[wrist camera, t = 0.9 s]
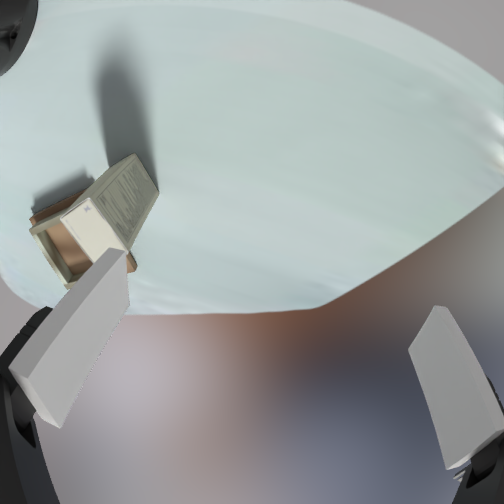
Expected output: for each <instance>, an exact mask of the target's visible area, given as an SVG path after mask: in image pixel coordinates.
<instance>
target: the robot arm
mask: <svg viewBox="0 0 504 504" xmlns="http://www.w3.org/2000/svg"><path fill="white" fill-rule="evenodd" d="M36 14H37V0H0V76H2V75H3V74H4V73H6V72H7V71H8V70H9V69H10V68H11V67H12V66H13V65H14V64H15V62H16V61H17V60H18V58H19V57H20V55H21V54H22V52H23V50H24V49H25V47H26V45H27V43H28V40H29V38H30V36H31V33H32V30H33V27H34V24H35V20H36ZM129 306H130V301H129V290H128V278H127V265H126V251H124V250H120V249H115V248H110V247H109V248H108V249H107V250H106V251H105V252H104V253H103V254H102V255H101V256H100V257H99V258H98V260H97V261H96V262H95V263H94V264H93V265H92V266H91V267H90V268H89V269H88V270H87V271H86V272H85V273H84V275H83V276H82V277H81V278H80V279H79V280H78V281H77V282H76V283H75V284H74V286H73V287H72V288H71V289H70V290H69V291H68V292H67V294H66V295H65V296H64V297H63V298H62V299H61V300H60V302H59V303H58V304H57V305H56V306H55V308H54V309H53V308H50V307H47V306H46V307H44V308H42V309H41V310H39V311H38V312H36V313H35V314H34V315H33V316H32V317H31V318H30V319H29V321H28V322H27V323H26V326H24V327H23V328H22V329H21V330H20V333H19V334H17V335H16V336H15V338H14V339H13V340H12V342H11V343H10V344H9V345H8V347H7V348H6V349H5V351H4V352H3V353H2V355H1V356H0V504H60V502H59V500H58V497H57V495H56V492H55V490H54V487H53V484H52V481H51V478H50V475H49V472H48V469H47V466H46V463H45V459H44V456H43V452H42V449H41V445H40V441H39V437H38V433H37V429H36V424H35V421H34V419H33V415H34V413H35V412H36V411H37V413H38V414H39V415H40V417H41V418H42V419H43V420H45V421H47V422H48V423H50V424H53V425H54V426H57V427H58V428H61V427H62V425H63V423H64V421H65V419H66V417H67V415H68V413H69V411H70V409H71V407H72V405H73V403H74V401H75V399H76V397H77V396H78V394H79V392H80V390H81V388H82V386H83V384H84V383H85V381H86V379H87V377H88V375H89V373H90V372H91V370H92V368H93V366H94V364H95V363H96V361H97V359H98V357H99V356H100V354H101V352H102V350H103V349H104V347H105V345H106V344H107V342H108V340H109V338H110V337H111V335H112V333H113V332H114V330H115V328H116V327H117V325H118V323H119V321H120V320H121V318H122V317H123V315H124V314H125V312H126V310H127V309H128V307H129ZM408 351H409V354H410V356H411V359H412V362H413V364H414V367H415V369H416V372H417V375H418V378H419V380H420V383H421V386H422V389H423V392H424V395H425V398H426V401H427V404H428V407H429V410H430V413H431V417H432V420H433V423H434V426H435V430H436V433H437V437H438V440H439V444H440V447H441V451H442V455H443V459H444V463H445V467H446V470H447V469H451V468H455V467H458V466H461V465H462V464H463V463H465V462H466V461H468V460H469V459H471V464H469V465H468V466H467V467H465V468H464V469H462V470H461V471H459V472H458V473H457V474H455V476H454V479H456V478H457V477H459V476H460V475H462V474H463V473H464V475H463V476H462V477H460V478H459V479H458V481H460V482H461V483H460V486H459V488H458V491H457V493H456V495H455V498H454V500H453V502H452V504H504V409H503V406H502V404H501V402H500V401H499V397H498V395H497V393H495V389H494V387H493V384H492V382H491V381H490V379H489V378H488V377H487V376H486V375H485V374H484V372H483V370H482V368H481V366H480V364H479V363H478V361H477V359H476V357H475V355H474V353H473V351H472V349H471V348H470V346H469V344H468V342H467V340H466V339H465V337H464V335H463V333H462V332H461V330H460V329H459V327H458V325H457V323H456V322H455V320H454V318H453V317H452V315H451V313H450V312H449V310H448V309H447V307H441V306H434V308H433V310H432V311H431V313H430V315H429V317H428V318H427V320H426V322H425V323H424V325H423V327H422V328H421V330H420V332H419V333H418V335H417V336H416V338H415V340H414V341H413V343H412V344H411V346H410V348H409V349H408Z"/></svg>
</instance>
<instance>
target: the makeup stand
mask: <svg viewBox="0 0 504 504" xmlns="http://www.w3.org/2000/svg"><path fill="white" fill-rule="evenodd" d="M87 189H88V188H87ZM87 189H85V190H83V191H81V192H79V193H77V194H74V195H72V196H70V197H68V198H66V199H64V200H62V201H60V202H58V203H56V204H54V205H52V206H50V207H48V208H46V209H44V210H42V211H40V212H38V213H36V214H34V215H33V216H32V217H31V218H30V219H29V220H30V221H31V223H32V225H33V226H32V227H31V228H30V230H29V231H30V233H31V234H32V236H33V238H34V240H35V241H36V243H37V245H38V246H39V248H40V250H41V251H42V253H43V254H44V256H45V258H46V259H47V261H48V262H49V264H50V265H51V267H52V268H53V270H54V271H55V273H56V274H57V276H58V277H59V279H60V280H61V282H62V283H63V284H64V286H65V287H66V289H67V290H68V289H71V288H72V287H73V286H74V284H75V283H76V282H77V281H78V280H79V279H80V278H81V277H82V276H83V275H84V273H85V272H86V271H87V270H88V269H89V268H90V267H91V266H92V265H93V262H92V261H91V260H90V259H89V257H88V256H87V255H86V254H85V253H84V251H83V250H82V249H81V248H80V246H79V245H78V244H77V242H76V241H75V240H74V238H73V237H72V236H71V234H70V233H69V232H68V230H67V229H66V227H65V226H64V225H63V223H62V222H61V220H60V218H61V216H62V215H63V214H64V213H65V212H66V211H67V210H68V208H69V207H70V206H71V205H72V204H73V203H74V202H75V201H76V200H77V199H78V198H79V197H80V196H81V195H82V194H83V193H84V192H85V191H86V190H87ZM126 265H127V273H131V272H135V270H136V268H137V265H136V263H135V261H134V259H133V258H132V256H131V254H130V252H129V253H128V254H127V255H126Z"/></svg>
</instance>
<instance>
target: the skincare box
mask: <svg viewBox="0 0 504 504" xmlns="http://www.w3.org/2000/svg"><path fill="white" fill-rule="evenodd" d="M158 196H159V192H158V190H157V188H156V187H155V185H154V183H153V182H152V180H151V178H150V177H149V175H148V173H147V171H146V170H145V168H144V166H143V165H142V163H141V161H140V160H139V158H138V157H137V155H136V154H135V153H133V154H131V155H129V156H128V157H126V158H124V159H123V160H121V161H119V162H118V163H116V164H115V165H113V166H112V167H110V168H109V169H108V170H107V171H106V172H105V173H103V174H102V175H101V176H100V177H99V178H98V179H97V180H96V181H95V182H94V183H93V184H92V185H91V186H90V187H89V188H88V189H87V190H86V191H85V192H84V193H83V194H82V195H81V196H80V197H79V198H78V199H77V200H76V201H75V202H74V203H73V204H72V205H71V206H70V207H69V208H68V210H67V211H66V212H65V213H64V214H63V215H62V216H61V218H60V220H61V222H62V223H63V225H64V226H65V227H66V229H67V230H68V232H69V233H70V234H71V236H72V237H73V238H74V240H75V241H76V242H77V244H78V245H79V246H80V248H81V249H82V250H83V251H84V253H85V254H86V255H87V256H88V257H89V259H90V260H91V261H92V262H93V264H94V263H95V262H96V261H97V260H98V258H99V257H100V256H101V255H102V254H103V253H104V252H105V251H106V250H107V249H108V248H109V247H110V248H115V249H120V250H124V251H126V255H127V254H128V253H129V251H130V249H131V247H132V245H133V243H134V241H135V239H136V237H137V235H138V233H139V231H140V229H141V227H142V225H143V223H144V222H145V220H146V218H147V216H148V214H149V212H150V211H151V209H152V207H153V205H154V203H155V201H156V200H157V198H158Z"/></svg>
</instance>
